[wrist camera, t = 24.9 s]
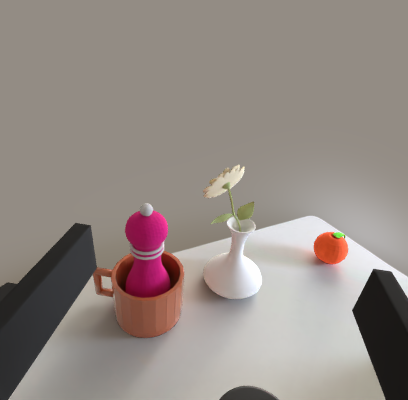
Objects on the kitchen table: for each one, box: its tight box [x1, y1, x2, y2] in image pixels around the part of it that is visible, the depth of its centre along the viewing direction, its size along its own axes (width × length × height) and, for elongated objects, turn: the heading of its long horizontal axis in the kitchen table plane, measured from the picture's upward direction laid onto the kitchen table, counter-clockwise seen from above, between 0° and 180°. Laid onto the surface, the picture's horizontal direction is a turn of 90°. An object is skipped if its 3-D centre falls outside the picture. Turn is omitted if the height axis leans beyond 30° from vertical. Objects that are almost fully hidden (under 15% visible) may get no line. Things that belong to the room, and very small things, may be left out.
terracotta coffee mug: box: [93, 251, 184, 338], centre depth 47 cm, size 15×11×8 cm
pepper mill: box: [125, 204, 170, 298], centre depth 44 cm, size 7×7×20 cm
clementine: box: [314, 232, 348, 264], centre depth 63 cm, size 8×7×7 cm
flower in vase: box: [203, 165, 262, 299], centre depth 50 cm, size 13×11×25 cm
